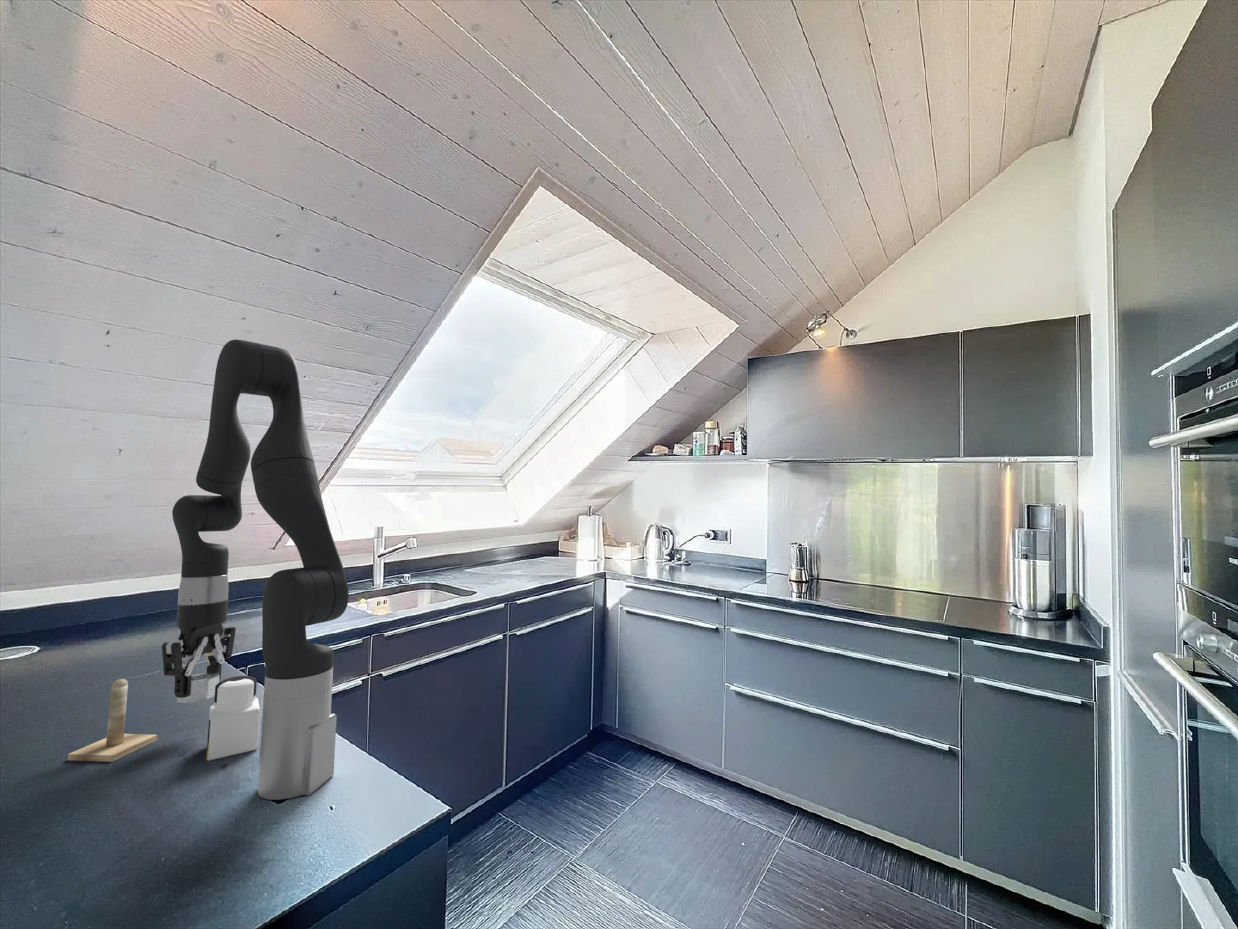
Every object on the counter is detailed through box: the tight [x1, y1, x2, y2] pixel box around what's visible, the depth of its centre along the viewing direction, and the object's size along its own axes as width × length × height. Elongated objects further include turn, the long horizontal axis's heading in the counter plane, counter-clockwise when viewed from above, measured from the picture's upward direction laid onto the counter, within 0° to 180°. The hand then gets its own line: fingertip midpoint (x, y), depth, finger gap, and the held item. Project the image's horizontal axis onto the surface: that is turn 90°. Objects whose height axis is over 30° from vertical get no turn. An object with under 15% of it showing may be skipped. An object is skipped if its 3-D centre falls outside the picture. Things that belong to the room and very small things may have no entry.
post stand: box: [67, 678, 158, 762], centre depth 92 cm, size 8×8×12 cm
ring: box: [176, 672, 221, 704], centre depth 98 cm, size 6×6×4 cm
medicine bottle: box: [206, 675, 261, 761], centre depth 93 cm, size 7×7×12 cm
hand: (198, 690), depth 98 cm, fingers closed on ring, 6 cm apart
